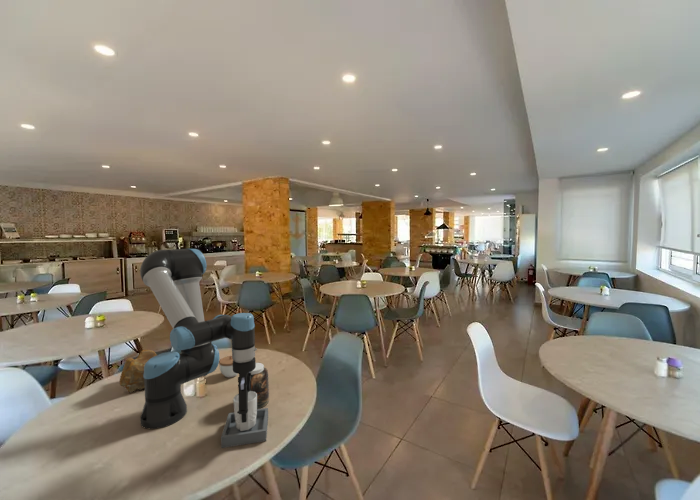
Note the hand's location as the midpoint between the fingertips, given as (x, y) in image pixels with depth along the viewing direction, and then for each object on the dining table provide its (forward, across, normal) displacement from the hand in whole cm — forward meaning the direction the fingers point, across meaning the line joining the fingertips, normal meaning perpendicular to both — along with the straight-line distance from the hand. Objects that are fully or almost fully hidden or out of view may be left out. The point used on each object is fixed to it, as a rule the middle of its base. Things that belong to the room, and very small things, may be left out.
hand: (246, 422), depth 106 cm
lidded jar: (+3, +49, +13) cm, 51 cm away
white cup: (+1, 0, 0) cm, 1 cm away
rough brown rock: (+4, +48, +50) cm, 69 cm away
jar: (+3, +19, -1) cm, 19 cm away
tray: (+3, 0, 0) cm, 3 cm away
